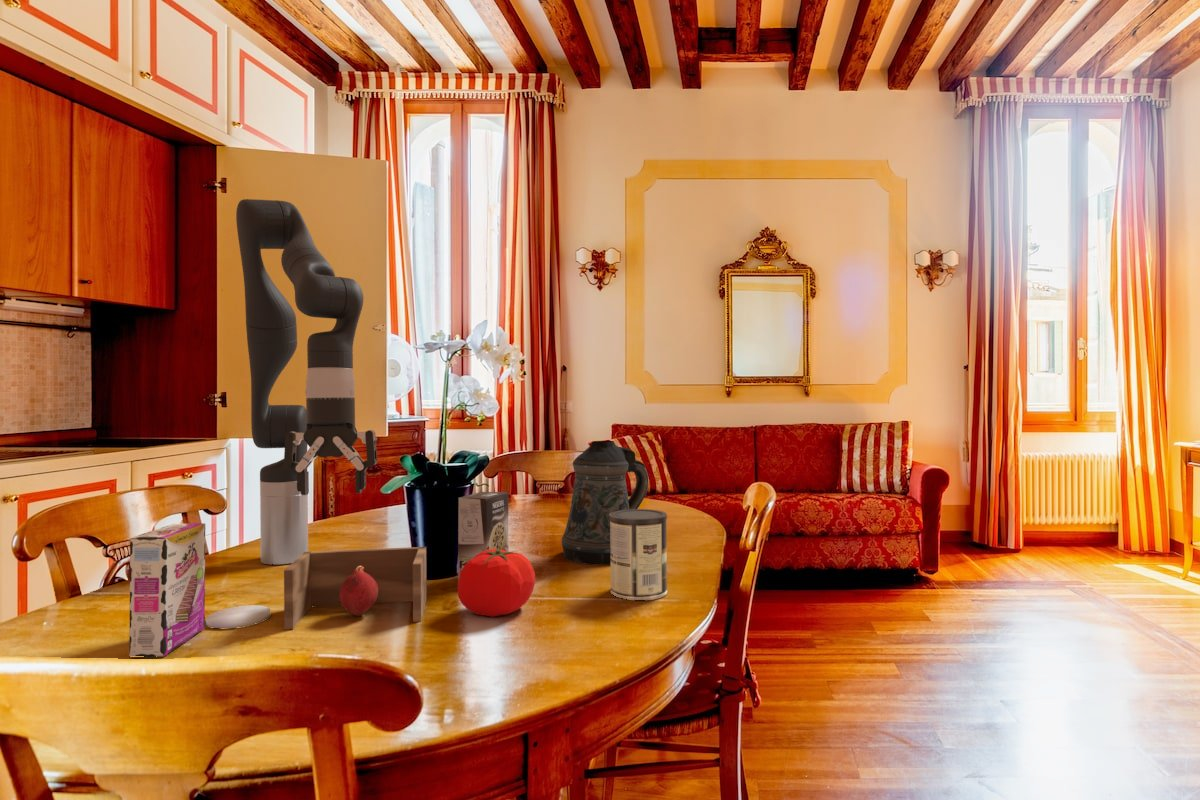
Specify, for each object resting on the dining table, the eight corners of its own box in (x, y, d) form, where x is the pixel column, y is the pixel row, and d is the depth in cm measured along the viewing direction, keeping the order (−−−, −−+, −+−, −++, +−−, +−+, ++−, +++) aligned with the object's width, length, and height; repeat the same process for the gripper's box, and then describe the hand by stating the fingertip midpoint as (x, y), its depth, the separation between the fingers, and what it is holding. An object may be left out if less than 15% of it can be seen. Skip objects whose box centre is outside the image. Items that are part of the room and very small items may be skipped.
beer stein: (546, 558, 145) (545, 442, 145) (597, 541, 161) (597, 437, 161) (609, 569, 136) (609, 445, 135) (657, 550, 152) (657, 440, 151)
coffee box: (487, 585, 125) (486, 498, 124) (457, 582, 127) (456, 496, 127) (510, 573, 133) (509, 491, 133) (481, 570, 135) (481, 490, 135)
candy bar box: (166, 658, 91) (165, 537, 91) (127, 659, 90) (126, 538, 90) (208, 629, 102) (207, 521, 102) (173, 630, 102) (172, 522, 101)
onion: (365, 623, 104) (365, 572, 104) (332, 621, 105) (331, 570, 105) (384, 611, 110) (384, 562, 110) (352, 609, 111) (352, 561, 111)
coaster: (218, 611, 110) (218, 607, 110) (277, 608, 112) (277, 603, 112) (196, 631, 101) (196, 625, 101) (260, 627, 103) (260, 621, 103)
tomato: (452, 606, 112) (451, 545, 112) (525, 597, 117) (525, 538, 117) (466, 628, 102) (466, 560, 102) (546, 617, 107) (545, 552, 107)
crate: (304, 605, 113) (304, 552, 113) (426, 598, 117) (426, 546, 117) (284, 629, 101) (283, 570, 101) (421, 621, 105) (420, 564, 105)
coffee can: (634, 580, 127) (634, 506, 127) (678, 591, 120) (678, 513, 120) (597, 592, 120) (597, 513, 120) (642, 605, 113) (642, 521, 113)
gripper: (379, 395, 116) (380, 489, 116) (292, 396, 114) (293, 492, 114) (371, 395, 109) (372, 495, 109) (278, 396, 107) (279, 498, 107)
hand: (331, 493), depth 111 cm, fingers open, 8 cm apart
